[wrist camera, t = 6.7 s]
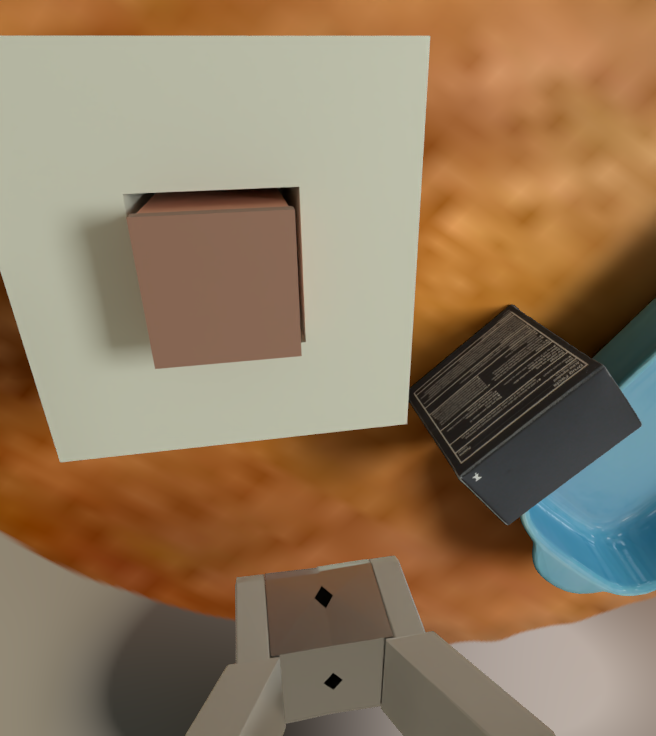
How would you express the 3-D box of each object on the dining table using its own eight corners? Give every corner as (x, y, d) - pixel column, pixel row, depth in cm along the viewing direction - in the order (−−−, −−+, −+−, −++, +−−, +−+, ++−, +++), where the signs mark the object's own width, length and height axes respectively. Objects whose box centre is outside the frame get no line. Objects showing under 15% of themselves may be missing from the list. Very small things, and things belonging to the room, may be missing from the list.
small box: (447, 440, 42) (508, 533, 33) (400, 392, 39) (452, 479, 30) (552, 357, 40) (649, 429, 31) (511, 300, 37) (604, 361, 28)
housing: (18, 53, 26) (-91, 21, 17) (376, 51, 29) (440, 23, 20) (99, 378, 34) (53, 469, 26) (370, 354, 37) (413, 429, 28)
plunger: (164, 180, 29) (126, 217, 19) (272, 176, 30) (294, 209, 20) (180, 285, 32) (154, 368, 21) (279, 279, 33) (301, 356, 22)
